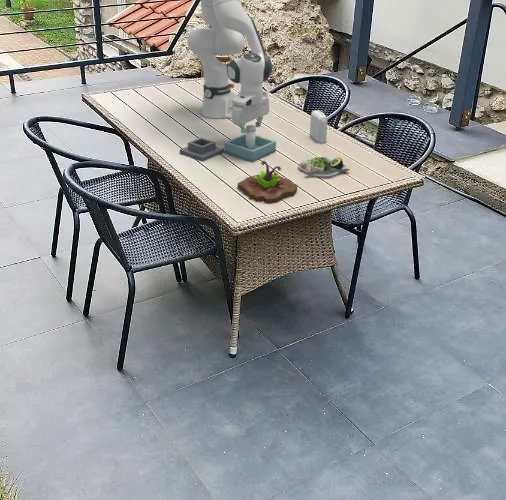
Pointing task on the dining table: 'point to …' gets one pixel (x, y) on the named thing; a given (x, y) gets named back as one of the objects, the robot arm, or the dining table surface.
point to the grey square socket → (201, 149)
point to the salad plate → (323, 167)
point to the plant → (267, 186)
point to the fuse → (250, 137)
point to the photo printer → (318, 126)
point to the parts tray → (239, 149)
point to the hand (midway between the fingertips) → (250, 129)
